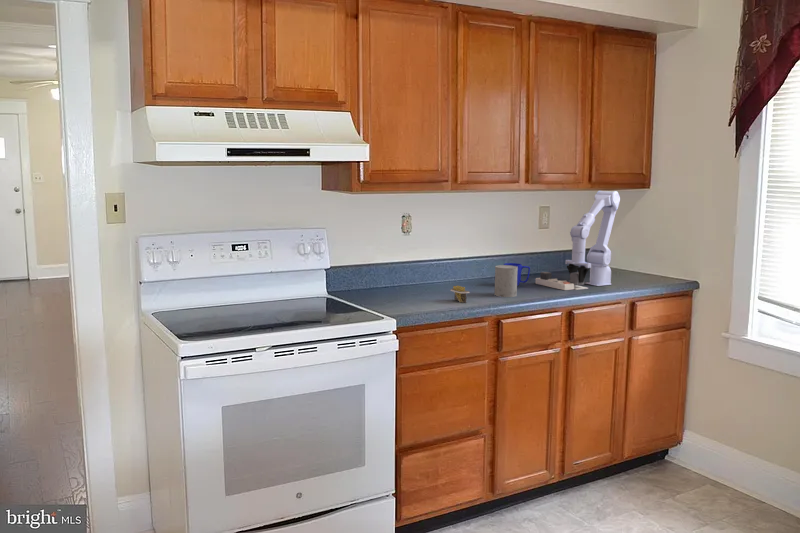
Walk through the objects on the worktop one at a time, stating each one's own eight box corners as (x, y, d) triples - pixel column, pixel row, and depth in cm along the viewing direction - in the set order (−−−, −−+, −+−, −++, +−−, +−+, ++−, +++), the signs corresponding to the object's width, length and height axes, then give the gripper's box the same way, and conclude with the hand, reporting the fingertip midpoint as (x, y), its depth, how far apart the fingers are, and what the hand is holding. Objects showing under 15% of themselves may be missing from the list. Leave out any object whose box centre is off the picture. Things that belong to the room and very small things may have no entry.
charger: (569, 283, 311) (570, 272, 310) (577, 282, 313) (577, 272, 312) (576, 285, 307) (577, 274, 306) (584, 284, 309) (584, 273, 308)
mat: (577, 286, 315) (577, 285, 315) (588, 288, 309) (588, 287, 309) (565, 287, 311) (565, 286, 311) (576, 289, 305) (576, 288, 305)
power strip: (544, 282, 324) (544, 271, 323) (573, 289, 307) (574, 277, 306) (535, 283, 321) (535, 271, 321) (564, 290, 304) (565, 277, 303)
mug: (529, 287, 310) (530, 266, 308) (502, 286, 312) (503, 265, 310) (529, 284, 317) (530, 263, 316) (503, 283, 320) (504, 262, 318)
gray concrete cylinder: (503, 297, 285) (503, 268, 283) (489, 294, 293) (490, 265, 291) (521, 296, 289) (522, 267, 287) (507, 292, 297) (508, 264, 296)
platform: (459, 307, 265) (459, 291, 264) (434, 300, 281) (434, 284, 280) (483, 304, 271) (484, 288, 270) (457, 297, 287) (458, 282, 286)
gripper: (560, 250, 312) (559, 279, 314) (583, 254, 300) (581, 284, 301) (572, 250, 316) (571, 278, 317) (595, 253, 303) (593, 283, 305)
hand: (577, 281), depth 310 cm, fingers closed on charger, 4 cm apart
